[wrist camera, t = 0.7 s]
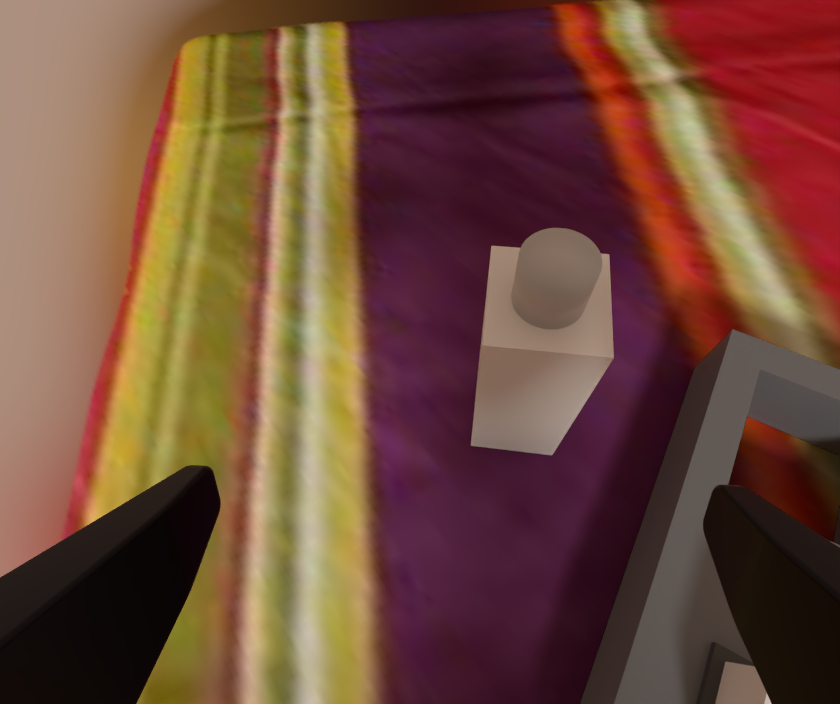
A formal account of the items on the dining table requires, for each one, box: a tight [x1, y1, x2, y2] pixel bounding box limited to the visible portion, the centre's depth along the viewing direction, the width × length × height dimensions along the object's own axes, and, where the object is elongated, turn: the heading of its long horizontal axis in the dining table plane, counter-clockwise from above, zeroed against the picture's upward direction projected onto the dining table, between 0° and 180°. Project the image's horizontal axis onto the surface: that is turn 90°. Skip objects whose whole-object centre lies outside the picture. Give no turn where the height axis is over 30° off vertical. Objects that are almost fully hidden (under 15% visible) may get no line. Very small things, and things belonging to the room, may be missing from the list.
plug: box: [471, 228, 614, 455], centre depth 20 cm, size 4×4×12 cm
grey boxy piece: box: [580, 329, 840, 704], centre depth 18 cm, size 21×9×7 cm, turn 151°
